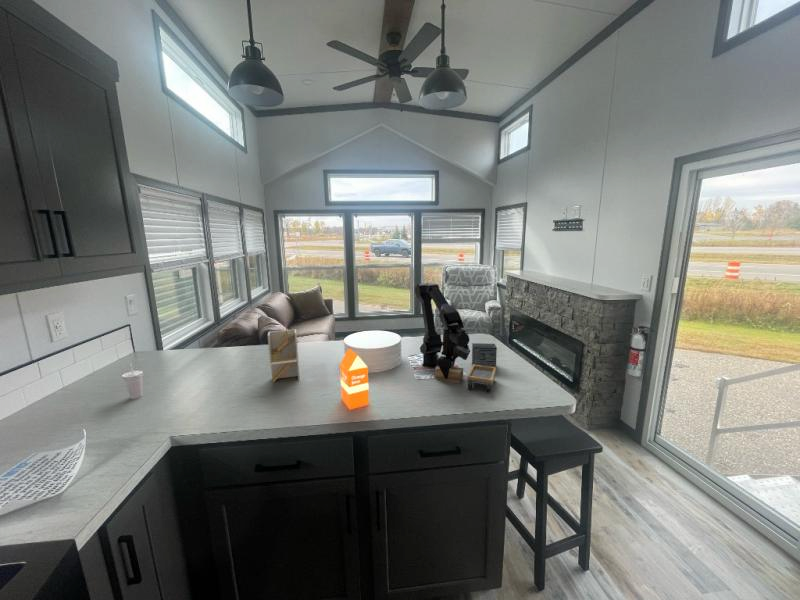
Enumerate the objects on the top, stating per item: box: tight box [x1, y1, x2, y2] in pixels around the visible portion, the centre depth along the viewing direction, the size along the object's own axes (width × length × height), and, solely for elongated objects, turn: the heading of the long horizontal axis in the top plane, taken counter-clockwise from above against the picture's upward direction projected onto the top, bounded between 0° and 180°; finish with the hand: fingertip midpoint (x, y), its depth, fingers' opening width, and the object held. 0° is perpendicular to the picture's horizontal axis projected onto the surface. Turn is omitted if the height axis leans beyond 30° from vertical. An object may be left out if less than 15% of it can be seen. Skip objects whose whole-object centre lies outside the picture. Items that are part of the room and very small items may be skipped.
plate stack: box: [343, 330, 402, 373], centre depth 161 cm, size 28×28×12 cm
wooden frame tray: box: [466, 364, 497, 393], centre depth 135 cm, size 10×14×6 cm
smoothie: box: [121, 362, 144, 400], centre depth 127 cm, size 6×6×14 cm
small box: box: [471, 342, 498, 368], centre depth 153 cm, size 11×6×10 cm, turn 84°
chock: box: [434, 365, 464, 384], centre depth 141 cm, size 5×11×5 cm, turn 63°
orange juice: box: [339, 348, 370, 410], centre depth 121 cm, size 8×9×20 cm
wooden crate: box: [267, 324, 301, 383], centre depth 138 cm, size 8×12×26 cm
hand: (448, 374), depth 141 cm, fingers open, 9 cm apart
